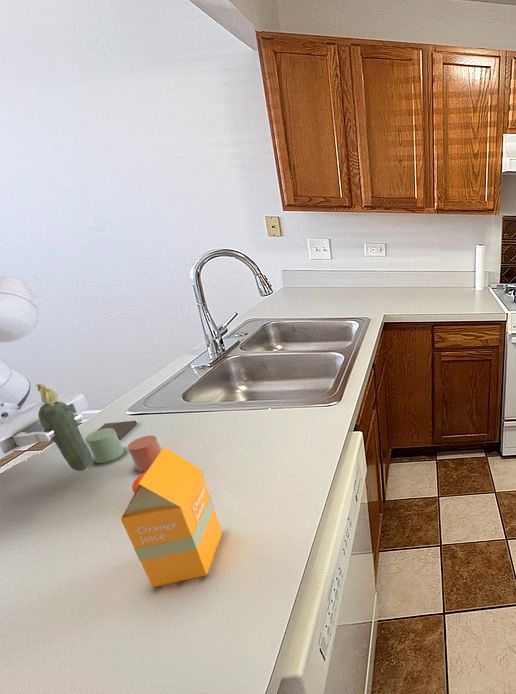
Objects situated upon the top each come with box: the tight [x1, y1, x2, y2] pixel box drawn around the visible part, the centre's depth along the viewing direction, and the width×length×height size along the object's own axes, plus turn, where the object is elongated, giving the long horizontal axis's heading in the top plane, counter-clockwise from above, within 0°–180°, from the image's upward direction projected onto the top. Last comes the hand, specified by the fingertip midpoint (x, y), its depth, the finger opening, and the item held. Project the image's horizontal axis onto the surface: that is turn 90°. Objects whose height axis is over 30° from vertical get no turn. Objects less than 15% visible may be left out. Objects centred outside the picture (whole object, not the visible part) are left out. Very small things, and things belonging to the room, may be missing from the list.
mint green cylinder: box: [84, 428, 125, 464], centre depth 90 cm, size 5×5×6 cm
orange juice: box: [120, 446, 223, 588], centre depth 63 cm, size 8×9×20 cm
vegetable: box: [35, 383, 93, 473], centre depth 76 cm, size 4×4×20 cm
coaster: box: [96, 420, 138, 441], centre depth 100 cm, size 7×7×1 cm
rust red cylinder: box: [127, 435, 162, 473], centre depth 88 cm, size 5×5×6 cm
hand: (65, 426), depth 75 cm, fingers closed on vegetable, 4 cm apart
